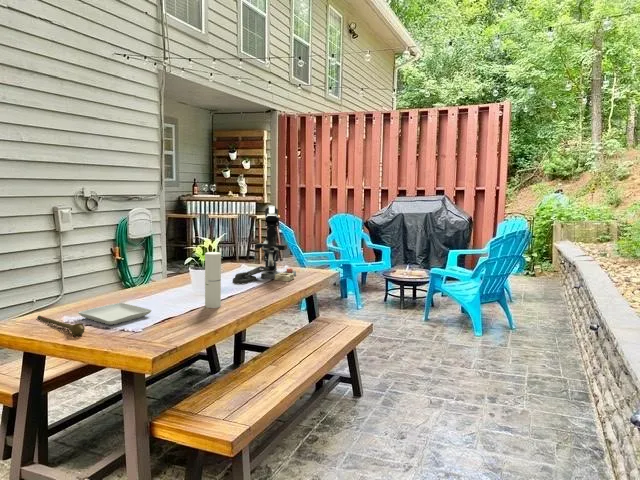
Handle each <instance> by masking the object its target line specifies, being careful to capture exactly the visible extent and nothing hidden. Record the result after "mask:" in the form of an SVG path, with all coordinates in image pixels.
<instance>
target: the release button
mask: <svg viewBox="0 0 640 480" xmlns="http://www.w3.org/2000/svg"><path fill="white" fill-rule="evenodd" d="M286 271H287V272H289V273H292V271H293V268H290V267H288V268H286Z"/></svg>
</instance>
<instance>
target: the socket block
mask: <svg viewBox="0 0 640 480" xmlns="http://www.w3.org/2000/svg"><path fill="white" fill-rule="evenodd" d="M278 273H281V272H280V271H269V270H266V271H263V272H260V278H261V279H271V280H275V275H276V274H278ZM282 273H289V272H287V270H285V271H283V272H282ZM291 274H294V277H295V276H297V271H292V273H291Z"/></svg>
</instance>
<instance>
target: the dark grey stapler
mask: <svg viewBox="0 0 640 480" xmlns="http://www.w3.org/2000/svg"><path fill="white" fill-rule="evenodd" d="M266 271H269V268H268V267H265V266H262V265H261V266H257V267H256V268H253V269H251V270H247V271H246V272H244V271H243V272H238V273H236V274H235V275H234V277H232V283H233V284H237V283H239V284H238V285H243V284H242V283H246V284H248V282H250V283H253V282H252V281H254V282H256V281H257V276H255V275H257V274H261V273H264V272H266Z"/></svg>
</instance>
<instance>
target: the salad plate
mask: <svg viewBox="0 0 640 480" xmlns="http://www.w3.org/2000/svg"><path fill="white" fill-rule="evenodd" d="M151 312H152V309H150V308H145V307H141V306H138V305H133V304H128V303H125V302H117V303H114V304H113V303H112V304H107V305H103V306H98V307H97V306H96V307H93V308H89V309H85V310H81V311H78V312H77V314H78V315H80V316H81V317H82V318H85V319H87V320H91V321H93V320H94V321H93V322H97V323H100V322H101V324H104V323H105V325H109V326H111V325H112V326H113V324H114V325H118V323H119V324H122V323H125V321H126V322H129V320H130V321H133V320H137V319H140V318H143V317H146V316H147V315H149V314H151ZM136 318H137V319H136ZM132 319H133V320H132ZM121 322H122V323H121Z"/></svg>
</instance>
